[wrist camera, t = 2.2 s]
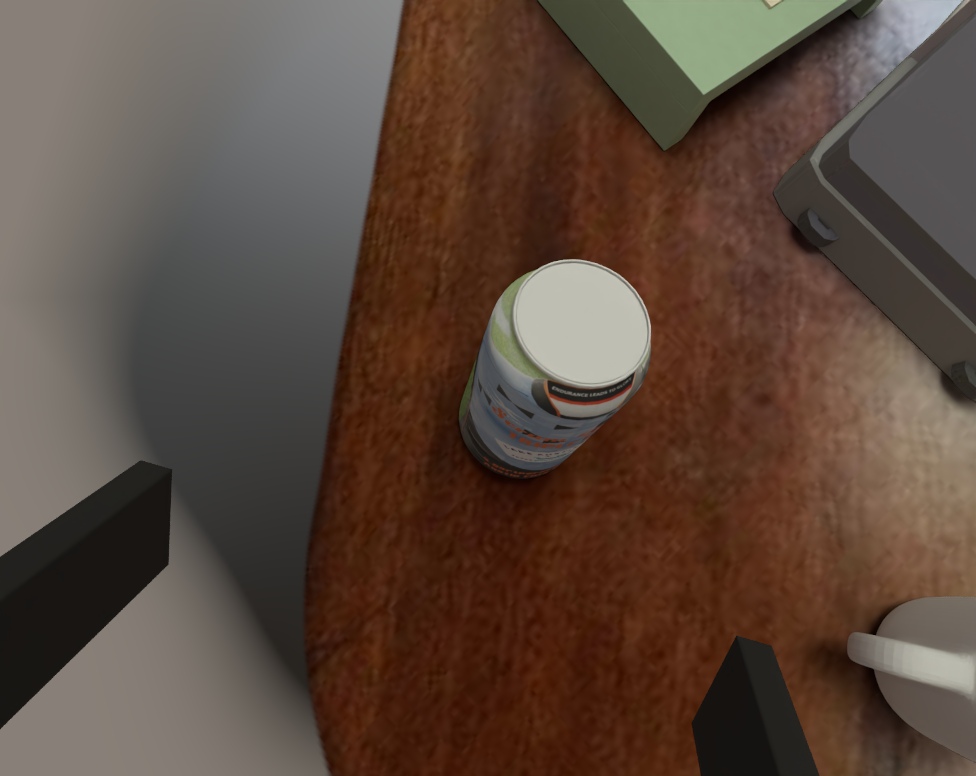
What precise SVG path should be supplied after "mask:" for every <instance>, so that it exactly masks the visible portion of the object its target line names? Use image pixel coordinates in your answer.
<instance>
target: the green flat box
mask: <svg viewBox="0 0 976 776" xmlns="http://www.w3.org/2000/svg"><path fill="white" fill-rule="evenodd" d="M538 1H539V3H540V4H541V5H542V6H543V7H544V9H545V10H546V11H547V12H548V13H549V14H550V16H551V17H552V18H553V19H554V20H555V22H556V23H557V24H558V25H559V26H560V28H561V29H562V30H563V31H564V32H565V34H566V35H567V36H568V37H569V38H570V39H571V41H572V42H573V43H574V44H575V45H576V47H577V48H578V49H579V50H580V51H581V53H582V54H583V55H584V56H585V57H586V59H587V60H588V61H589V62H590V63H591V65H592V66H593V67H594V68H595V69H596V70H597V72H598V73H599V74H600V75H601V76H602V78H603V79H604V80H605V81H606V82H607V84H608V85H609V86H610V87H611V88H612V90H613V91H614V92H615V93H616V94H617V95H618V97H619V98H620V99H621V100H622V101H623V103H624V104H625V105H626V106H627V107H628V109H629V110H630V111H631V112H632V113H633V115H634V116H635V117H636V118H637V119H638V120H639V122H640V123H641V124H642V125H643V126H644V128H645V129H646V130H647V131H648V132H649V134H650V135H651V136H652V137H653V138H654V140H655V141H656V142H657V143H658V144H659V145H660V147H661V148H662V149H663V150H664V151H665V150H667V149H668V148H670V147H671V146H673V145H674V144H676V143H677V142H679V141H680V140H681V139H683V137H684V136H685V135H686V133H687V132H688V131H689V129H690V128H691V126H692V125H693V124H694V122H695V121H696V120H697V118H698V117H699V116H700V114H701V113H702V111H703V110H704V109H705V107H706V106H707V105H708V103H709V102H710V101H711V100H713V99H714V98H716V97H717V96H719V95H720V94H722V93H723V92H725V91H726V90H728V89H729V88H731V87H732V86H734V85H735V84H737V83H738V82H740V81H741V80H743V79H744V78H746V77H747V76H749V75H750V74H752V73H753V72H755V71H756V70H758V69H759V68H761V67H762V66H764V65H765V64H767V63H768V62H770V61H771V60H773V59H774V58H776V57H777V56H779V55H780V54H782V53H783V52H785V51H786V50H788V49H789V48H791V47H792V46H794V45H795V44H797V43H798V42H800V41H802V40H803V39H805V38H806V37H808V36H809V35H811V34H812V33H814V32H815V31H817V30H818V29H820V28H821V27H823V26H824V25H826V24H827V23H829V22H830V21H832V20H833V19H835V18H836V17H838V16H839V15H841V14H842V13H844V12H845V11H847V10H848V9H851V10H852V11H853V13H854V14H855V15H856V16H857V17H858V18H859V19H861V18H862V17H864V16H865V15H867V14H868V13H870V12H871V11H873V10H874V9H875V8H876V7H877V6H878V5H879V4H880V3H881V2H882V1H883V0H538Z"/></svg>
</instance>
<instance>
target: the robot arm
mask: <svg viewBox="0 0 976 776" xmlns="http://www.w3.org/2000/svg"><path fill="white" fill-rule="evenodd" d="M171 478H172V469H168V468H165V467H162V466H158V465H155V464H152V463H148V462H145V461H139V462H138V463H136V464H135V465H133V466H132V467H130V468H129V469H128V470H126V471H125V472H123V473H122V474H120V475H119V476H117V477H116V478H114V479H113V480H112V481H110V482H109V483H107V484H106V485H104V486H103V487H101V488H100V489H98V490H97V491H95V492H94V493H92V494H91V495H90V496H88V497H87V498H85V499H84V500H82V501H81V502H79V503H78V504H76V505H75V506H74V507H72V508H71V509H69V510H68V511H66V512H65V513H63V514H62V515H60V516H59V517H58V518H56V519H55V520H53V521H52V522H50V523H49V524H48V525H46V526H44V527H43V528H42V529H40V530H39V531H37V532H36V533H34V534H33V535H31V536H30V537H28V538H27V539H26V540H24V541H23V542H21V543H20V544H18V545H17V546H15V547H14V548H12V549H11V550H10V551H8V552H7V553H5V554H4V555H2V556H1V557H0V729H1V728H2V727H3V726H4V725H5V724H6V723H7V722H8V721H9V720H10V719H11V718H12V717H13V716H14V715H15V714H16V713H17V712H18V711H19V710H20V709H21V708H22V707H23V706H24V705H25V704H26V703H27V702H28V701H29V700H30V699H31V698H32V697H33V696H34V695H35V694H37V693H38V692H39V691H40V689H42V688H43V686H45V685H46V684H47V683H48V682H49V681H50V680H51V679H52V678H53V677H54V676H55V675H56V674H57V673H58V672H59V671H60V670H61V669H62V668H63V667H64V666H65V665H66V664H67V663H68V662H69V661H70V660H71V659H72V658H73V657H74V656H75V655H76V654H77V653H78V652H79V651H80V650H81V649H82V648H83V647H85V646H86V644H88V642H90V641H91V639H92V638H94V637H95V636H96V635H97V633H99V632H100V631H101V630H102V629H103V628H104V627H105V626H106V625H107V624H108V623H109V622H110V621H111V620H112V619H113V618H114V617H115V616H116V615H117V614H118V613H119V612H120V611H121V610H122V609H123V608H124V607H125V606H126V605H127V604H128V603H129V602H130V601H131V600H132V599H134V598H135V597H136V595H137V594H139V593H140V592H141V591H142V590H143V589H144V588H145V587H146V586H147V585H148V584H149V583H150V582H151V581H152V580H153V579H154V578H155V577H156V576H157V575H158V574H159V573H160V572H161V571H162V570H163V569H164V568H165V567H166V566H167V565H168V561H169V535H170V533H169V532H170V507H171V480H172V479H171ZM692 728H693V733H694V739H695V744H696V750H697V756H698V761H699V767H700V772H701V776H819V773H818V770H817V768H816V765H815V762H814V760H813V757H812V754H811V752H810V749H809V746H808V743H807V741H806V738H805V735H804V733H803V730H802V727H801V725H800V722H799V719H798V716H797V714H796V711H795V708H794V706H793V703H792V700H791V697H790V695H789V692H788V689H787V687H786V684H785V681H784V679H783V676H782V673H781V670H780V668H779V665H778V662H777V660H776V657H775V654H774V652H773V649H772V646H770V645H766V644H763V643H760V642H756V641H753V640H750V639H746V638H743V637H739V636H736V638H735V640H734V642H733V644H732V646H731V648H730V649H729V651H728V653H727V655H726V657H725V659H724V661H723V663H722V665H721V667H720V669H719V671H718V673H717V675H716V677H715V679H714V681H713V683H712V685H711V687H710V688H709V690H708V692H707V694H706V696H705V698H704V700H703V702H702V704H701V706H700V708H699V710H698V712H697V714H696V716H695V718H694V720H693V722H692Z"/></svg>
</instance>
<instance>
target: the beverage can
mask: <svg viewBox="0 0 976 776" xmlns="http://www.w3.org/2000/svg"><path fill="white" fill-rule="evenodd" d="M650 338H651V327H650V320H649V316H648V312H647V309H646V307H645V305H644V303H643V301H642V299H641V298H640V296H639V295H638V293H637V292H636V290H635V289H634V288H633V287H632V286H631V285H630V284H629V283H628V282H627V281H626V280H625V279H624V278H622V277H621V276H620V275H619V274H617V273H615V272H614V271H612V270H610V269H609V268H607V267H604V266H602V265H599V264H597V263H593V262H589V261H584V260H575V259H574V260H561V261H556V262H552V263H549V264H547V265H544V266H542V267H540V268H539V269H537V270H534V271H532V272H529V273H527V274H525V275H524V276H522V277H520V278H519V279H517V280H516V281H514V282H513V283H512V284H511V285H510V286H509V287H508V288H507V289H506V290H505V291H504V293H503V294H502V295H501V297H500V298H499V300H498V301H497V303H496V306H495V308H494V310H493V312H492V315H491V318H490V321H489V324H488V326H487V329H486V332H485V335H484V338H483V341H482V344H481V346H480V349H479V352H478V355H477V358H476V361H475V364H474V366H473V369H472V372H471V375H470V378H469V381H468V384H467V386H466V389H465V392H464V395H463V398H462V401H461V405H460V410H459V424H460V431H461V434H462V437H463V440H464V442H465V444H466V446H467V447H468V449H469V451H470V452H471V453H472V454H473V456H474V457H475V458H476V459H477V460H478V461H479V462H480V463H481V464H482V465H483V466H485V467H487V468H488V469H490V470H491V471H493V472H495V473H498V474H500V475H502V476H506V477H510V478H518V479H527V478H535V477H538V476H541V475H545V474H546V473H548V472H550V471H552V470H554V469H555V468H556V467H558V466H559V465H560V464H561V463H562V462H564V461H565V460H566V459H567V458H568V457H569V456H570V455H571V454H572V453H573V452H574V451H575V450H576V449H577V448H578V447H580V446H581V445H582V444H583V443H584V442H585V441H586V440H587V439H588V438H589V437H590V436H591V435H592V434H593V433H594V432H596V431H597V430H598V429H599V428H600V427H601V426H602V425H603V424H604V423H605V422H606V421H607V420H608V419H609V418H610V417H612V416H613V415H614V414H615V413H616V412H617V411H618V410H619V409H620V408H621V407H622V406H623V405H624V404H625V403H626V402H628V401H629V400H630V399H631V397H632V396H633V395H634V394H635V393H636V392H637V390H638V389H639V388H640V386H641V384H642V382H643V380H644V378H645V377H646V374H647V370H648V367H649V364H650V355H651V343H650Z"/></svg>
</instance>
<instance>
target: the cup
mask: <svg viewBox="0 0 976 776" xmlns="http://www.w3.org/2000/svg"><path fill="white" fill-rule="evenodd" d="M847 653H848V656H849V658H850V659H851V660H852V661H854V662H856V663H858V664H861V665H864V666H867V667H870V668H873V669H874V672H875V677H876V680H877V683H878V685H879V688H880V690H881V692H882V694H883V696H884V697H885V699H886V701H887V702H888V704H889V705H890V706H891V708H892V709H893V710H894V711H895V712H896V713H897V714H898V715H899V716H900V717H901V718H902V719H903V720H904V721H905V722H906V723H907V724H908V725H910V726H911V727H912V728H914V729H915V730H917V731H918V732H920V733H921V734H923V735H924V736H926V737H928V738H930V739H932V740H933V741H935V742H937V743H939V744H941V745H943V746H945V747H946V748H948V749H950V750H952V751H954V752H956V753H958V754H959V755H961V756H963V757H965V758H967V759H969V760H971V761H973V762H974V763H976V597H926V598H919V599H915V600H911V601H908V602H906V603H903V604H901V605H899V606H898V607H896V608H895V609H894V610H892V611H891V612H890V613H889V614H888V615H887V616H886V617H885V619H884V620H883V621H882V623H881V625H880V626H879V628H878V631H877V633H876V636H875V635H870V634H864V633H858V632H854V633H852V634H851V635H850V636H849V638H848V644H847Z"/></svg>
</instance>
